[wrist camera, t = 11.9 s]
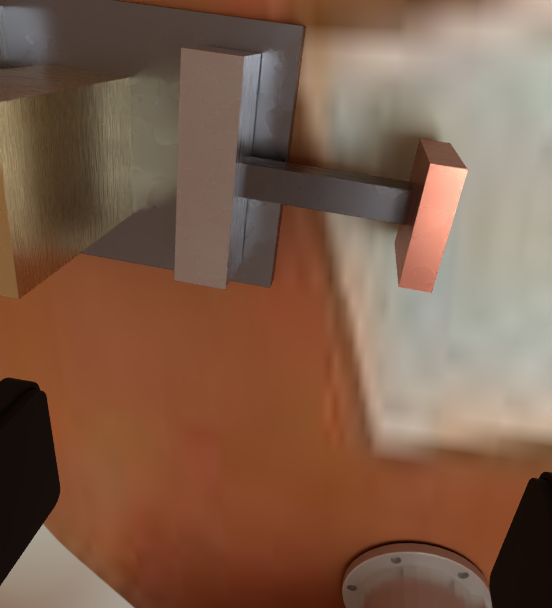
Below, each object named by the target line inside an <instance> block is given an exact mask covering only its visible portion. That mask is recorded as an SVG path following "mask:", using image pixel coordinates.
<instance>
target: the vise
mask: <svg viewBox="0 0 552 608" xmlns="http://www.w3.org/2000/svg"><path fill="white" fill-rule="evenodd" d="M305 30H306V26H299V25H292V24H285V23H277V22H270V21H263V20H255V19H248V18H241V17H233V16H226V15H218V14H211V13H204V12H196V11H189V10H182V9H174V8H167V7H160V6H152V5H145V4H138V3H130V2H123V1H116V0H0V69H10V68H19V67H29V66H39V65H50V66H57V67H64V68H70V69H77V70H84V71H91V72H97V73H104V74H111V75H117V76H124V77H130V122H131V198H132V214H131V215H130V216H129V217H127V218H126V219H125V220H123V221H122V222H121V223H119V224H118V225H117V226H115V227H114V228H113V229H111V230H110V231H109V232H107V233H106V234H105V235H103V236H102V237H101V238H99V239H98V240H97V241H96V242H94V243H93V244H92V245H90V246H89V247H88V248H86V249H85V250H84V251H82V252H81V253H83V254H88V255H94V256H99V257H105V258H110V259H115V260H121V261H126V262H132V263H137V264H143V265H148V266H154V267H159V268H165V269H170V270H175V238H176V203H177V168H178V134H179V99H180V64H181V48H182V47H194V46H205V45H206V46H213V47H220V48H227V49H234V50H241V51H248V52H255V53H261V59H260V69H259V80H258V90H257V101H256V112H255V122H254V133H253V143H252V154H251V157H257V158H264V159H270V160H276V161H282V162H289V154H290V146H291V138H292V131H293V123H294V115H295V107H296V100H297V92H298V84H299V76H300V69H301V61H302V53H303V45H304V38H305ZM282 208H283V204H278V203H272V202H266V201H260V200H254V199H248V198H247V206H246V217H245V227H244V238H243V249H242V259H241V264H240V265H239V267H238V269H237V270H236V272H235V274H234V276H233V277H232V279H231V281H236V282H242V283H247V284H252V285H258V286H263V287H269V288H270V287H271V284H272V282H273V278H274V270H275V262H276V255H277V247H278V239H279V231H280V224H281V216H282Z"/></svg>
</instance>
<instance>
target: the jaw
mask: <svg viewBox="0 0 552 608" xmlns="http://www.w3.org/2000/svg"><path fill="white" fill-rule="evenodd" d="M260 59H261V53H255V52H248V51H241V50H234V49H227V48H220V47H213V46H206V45H205V46H194V47H182V48H181V64H180V99H179V134H178V168H177V203H176V238H175V272H174V280H176V281H181V282H187V283H192V284H197V285H203V286H208V287H214V288H219V289H225V290H226V288H227V286H228V284H229V283H230V281H231V279H232V277H233V276H234V274H235V272H236V270H237V269H238V267H239V265H240V264H241V259H242V249H243V238H244V227H245V217H246V206H247V198H248V199H254V200H260V201H266V202H272V203H278V204H284V205H290V206H296V207H302V208H308V209H314V210H320V211H326V212H332V213H338V214H344V215H350V216H356V217H362V218H368V219H374V220H379V221H385V222H391V223H397V224H399V227H398V231H397V235H396V239H395V253H396V264H397V275H398V285H399V287H403V288H408V289H414V290H419V291H425V292H431V293H432V290H433V287H434V283H435V280H436V276H437V273H438V269H439V266H440V263H441V259H442V256H443V252H444V249H445V246H446V242H447V239H448V235H449V232H450V229H451V225H452V222H453V218H454V215H455V211H456V208H457V205H458V201H459V198H460V194H461V191H462V188H463V184H464V181H465V177H466V174H467V171H468V169H467V168H466V166H465V165H464V163H463V162H462V160H461V159H460V157H459V156H458V154H457V153H456V151H455V150H454V148H453V147H452V145H451V144H450V143H445V142H438V141H432V140H425V139H420V141H419V145H418V149H417V153H416V157H415V161H414V165H413V169H412V173H411V178H410V182H407V181H401V180H395V179H389V178H382V177H376V176H370V175H364V174H357V173H351V172H345V171H339V170H332V169H326V168H320V167H314V166H307V165H301V164H295V163H289V162H282V161H276V160H270V159H264V158H257V157H251V154H252V143H253V133H254V122H255V112H256V101H257V90H258V80H259V69H260Z"/></svg>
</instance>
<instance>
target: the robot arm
mask: <svg viewBox="0 0 552 608" xmlns="http://www.w3.org/2000/svg"><path fill="white" fill-rule="evenodd" d="M59 495H60V482H59V475H58V469H57V462H56V456H55V449H54V443H53V436H52V430H51V423H50V416H49V410H48V403H47V397H46V394H45V393H44V392H43V391H40V388H39V385H38V384H37V383H35V382H31V381H25V380H19V379H14V378H4V379H3V380H2V381H0V585H1V584H2V582H3V581H4V579H5V578H6V577H7V575H8V574H9V572H10V571H11V569H12V568H13V566H14V565H15V563H16V562H17V560H18V559H19V558H20V556H21V555H22V553H23V552H24V550H25V549H26V547H27V546H28V544H29V543H30V542H31V540H32V539H33V537H34V536H35V534H36V533H37V531H38V530H39V529H40V527H41V526H42V524H43V523H44V521H45V520H46V518H47V517H48V515H49V514H50V513H51V511H52V510H53V508H54V507H55V505H56V503H57V501H58V498H59ZM489 587H490V589H489ZM342 596H343V601H344V604H345V607H346V608H492V606H493V608H552V473H550V472H543V473H542V474H541V475H540V477H539V479H537V478H531V479H530V480H529V482H528V484H527V487H526V489H525V492H524V494H523V496H522V499H521V501H520V504H519V506H518V509H517V511H516V513H515V516H514V518H513V521H512V523H511V526H510V528H509V530H508V533H507V535H506V538H505V540H504V543H503V545H502V547H501V550H500V552H499V555H498V557H497V560H496V562H495V564H494V567H493V569H492V572H491V575H490V584H489V585H488V583H487V581H486V579H485V577H484V575H483V574H482V573H481V572H480V571H479V570H478V569H477V567H475V566H474V565H473V564H472V563H470V562H469V561H468V560H466V559H465V558H463V557H461V556H459V555H457V554H455V553H453V552H451V551H448V550H445V549H442V548H440V547H435V546H431V545H426V544H416V543H398V544H391V545H385V546H381V547H378V548H375V549H372V550H370V551H368V552H366V553H364V554H362V555H360V556H359V557H358V558H357V559H355V560H354V561H353V562H352V563H351V564H350V566H349V567H348V568H347V570H346V572H345V575H344V577H343V586H342Z"/></svg>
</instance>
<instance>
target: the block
mask: <svg viewBox="0 0 552 608" xmlns="http://www.w3.org/2000/svg"><path fill="white" fill-rule="evenodd" d="M131 214H132V198H131V122H130V77H124V76H117V75H111V74H104V73H97V72H91V71H84V70H77V69H70V68H64V67H57V66H50V65H39V66H29V67H19V68H10V69H0V296H4V297H9V298H14V299H20V298H21V297H23V296H24V295H25V294H27V293H28V292H29V291H31V290H32V289H33V288H35V287H36V286H37V285H39V284H40V283H41V282H43V281H44V280H45V279H47V278H48V277H49V276H50V275H52V274H53V273H54V272H56V271H57V270H58V269H60V268H61V267H62V266H64V265H65V264H66V263H68V262H69V261H70V260H72V259H73V258H74V257H76V256H77V255H78V254H80V253H81V252H82V251H84V250H85V249H86V248H88V247H89V246H90V245H92V244H93V243H94V242H96V241H97V240H98V239H99V238H101V237H102V236H103V235H105V234H106V233H107V232H109V231H110V230H111V229H113V228H114V227H115V226H117V225H118V224H119V223H121V222H122V221H123V220H125V219H126V218H127V217H129V216H130V215H131Z"/></svg>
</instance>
